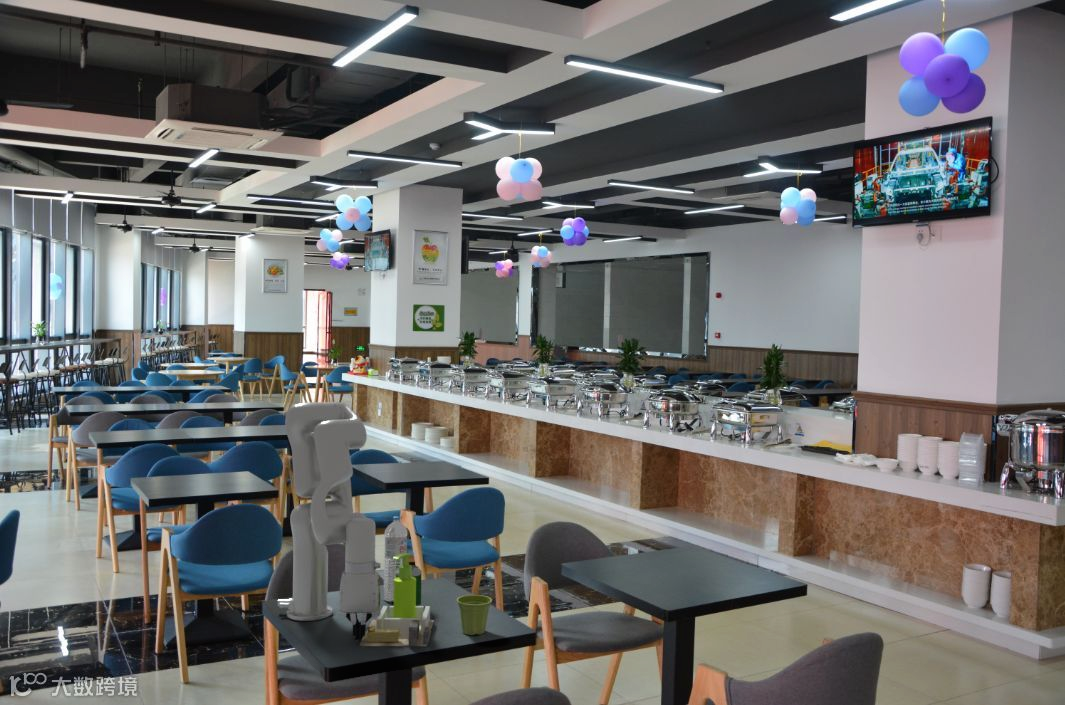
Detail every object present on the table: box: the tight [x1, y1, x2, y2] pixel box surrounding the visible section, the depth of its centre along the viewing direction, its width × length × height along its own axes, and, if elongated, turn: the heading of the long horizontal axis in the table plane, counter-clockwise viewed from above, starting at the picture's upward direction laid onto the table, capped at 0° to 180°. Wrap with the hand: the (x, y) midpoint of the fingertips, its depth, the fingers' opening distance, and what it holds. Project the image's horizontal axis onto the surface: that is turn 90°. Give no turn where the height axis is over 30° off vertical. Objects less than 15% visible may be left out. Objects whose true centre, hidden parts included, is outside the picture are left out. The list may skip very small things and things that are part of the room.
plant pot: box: [456, 594, 493, 636], centre depth 227 cm, size 9×9×9 cm
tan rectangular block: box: [366, 625, 400, 642], centre depth 216 cm, size 8×2×3 cm, turn 92°
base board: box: [359, 619, 435, 647], centre depth 224 cm, size 17×21×5 cm
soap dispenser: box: [393, 552, 416, 618], centre depth 227 cm, size 6×7×20 cm
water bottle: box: [383, 516, 408, 603], centre depth 255 cm, size 7×7×25 cm
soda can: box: [395, 564, 423, 606], centre depth 246 cm, size 8×8×12 cm
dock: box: [376, 605, 431, 635], centre depth 228 cm, size 13×12×4 cm
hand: (359, 638), depth 216 cm, fingers closed
